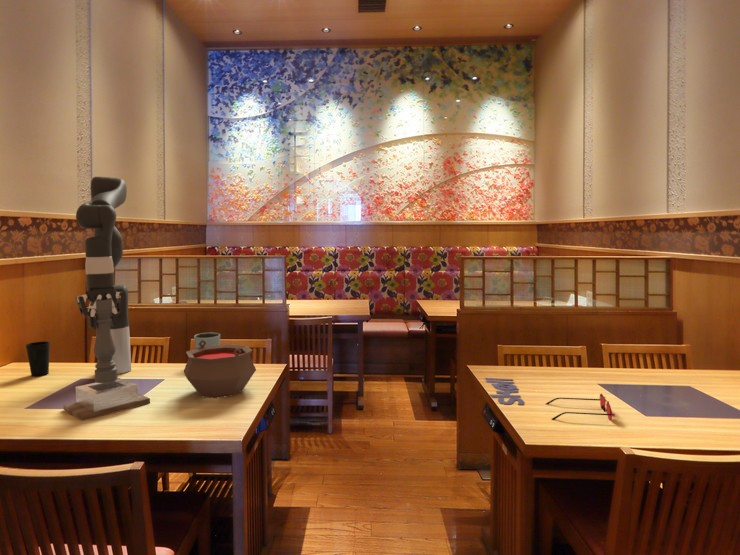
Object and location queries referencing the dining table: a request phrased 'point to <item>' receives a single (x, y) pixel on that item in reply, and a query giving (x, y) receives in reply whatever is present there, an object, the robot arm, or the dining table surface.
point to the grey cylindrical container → (207, 339)
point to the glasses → (602, 404)
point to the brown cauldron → (219, 369)
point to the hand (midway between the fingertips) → (103, 327)
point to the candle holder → (104, 343)
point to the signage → (505, 391)
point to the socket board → (86, 413)
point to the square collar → (106, 394)
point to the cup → (38, 358)
